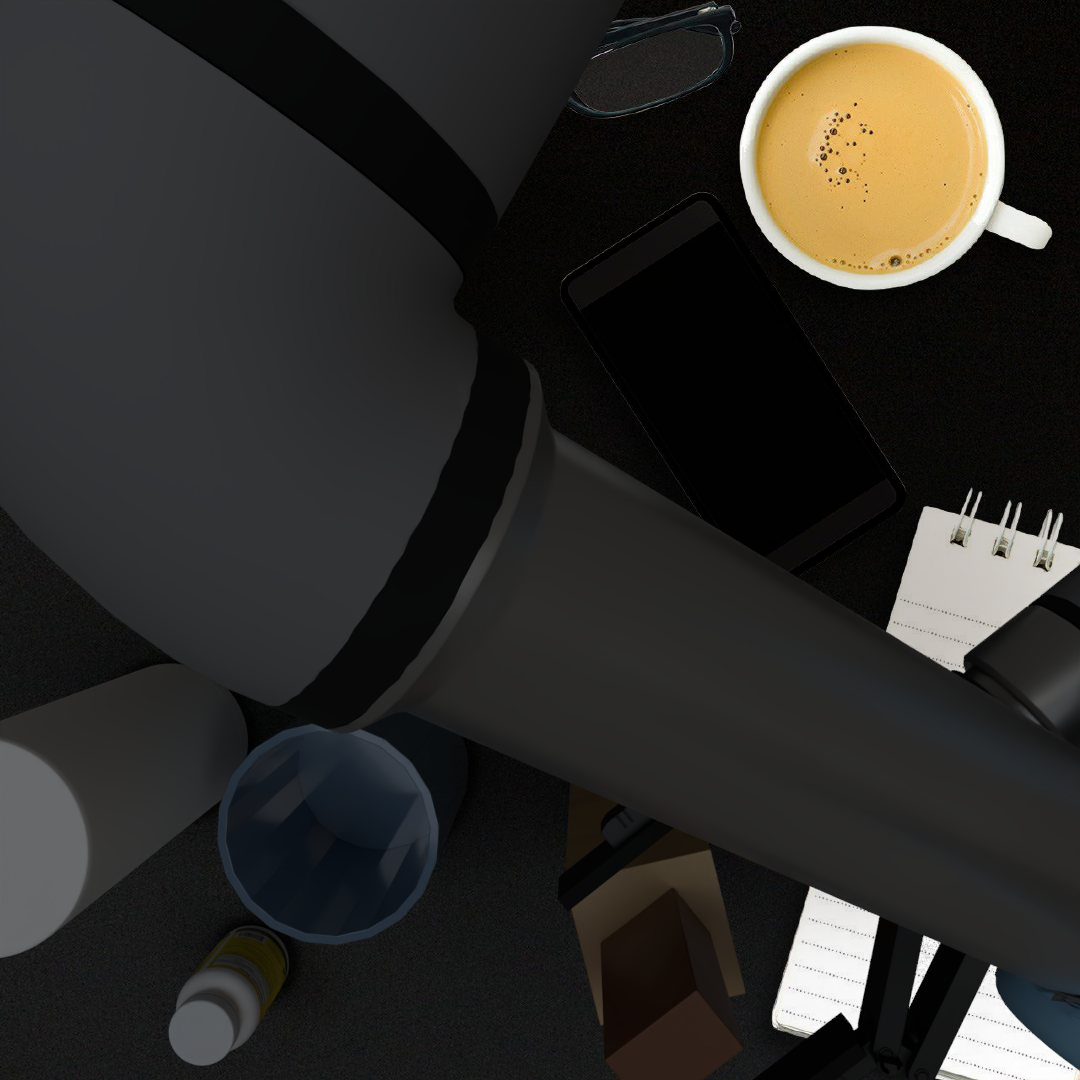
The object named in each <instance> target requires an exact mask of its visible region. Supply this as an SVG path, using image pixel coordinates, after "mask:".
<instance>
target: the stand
mask: <svg viewBox="0 0 1080 1080" xmlns="http://www.w3.org/2000/svg"><path fill="white" fill-rule="evenodd" d="M568 796H569V797H568V815H567V817H568V818H567V832H566V833H567V834H566V835H567V836H566V853H565V871H567V870H568V869H569V868H570V867H572V866H573V865H574V864H575V863H577V862H578V861H579V860H581V859H582V858H583V857H584V856H586V855H587V854H588V853H589V852H591V851H592V850H593V849H594V848H596V847H597V846H598V845H600V844H601V843H602V842H603V841H605V840H606V839H605V838H604V836H603V835H602V834H601V824H600V823H601V821H602V820H603V818H604V816H605V814H606V813H607V812H609V811H610V810H611V809H612V808H614V807H615V806H616V805H617V804H618V803H616V802H614V801H611V800H609V799H607V798H604V797H602V796H600V795H597V794H595V793H593V792H590V791H588V790H586V789H583V788H581V787H579V786H577V785H574V784H572V783H570V782H569V795H568ZM565 871H564V872H565ZM671 888H674V889H675V890H676V891H677V892H678V894H679V895H680V896H681V897H682V899H683V900H684V901H685V902H686V904H687V905H688V906H689V907H690V909H691V910H692V911H693V912H694V913H695V915H696V916H697V917H698V918H699V920H700V921H701V922H702V923H703V925H704V926H705V927H706V928H707V930H708V931H709V932H710V934H711V938H712V941H713V944H714V948H715V951H716V955H717V958H718V961H719V965H720V968H721V972H722V975H723V978H724V982H725V985H726V989H727V992H728V995H729V998H732V997H736V996H740V995H746V994H747V991H746V987H745V983H744V980H743V976H742V970H741V967H740V962H739V958H738V955H737V951H736V946H735V943H734V939H733V933H732V931H731V926H730V923H729V918H728V914H727V910H726V906H725V902H724V898H723V894H722V890H721V886H720V882H719V878H718V874H717V869H716V865H715V862H714V858H713V853H712V850H711V847H710V843H708V842H706V841H704V840H701V839H699V838H697V837H694V836H692V835H690V834H688V833H685V832H683V831H681V830H678V829H676V828H673V829H672V830H671V831H670V832H668V833H667V834H666V835H665V836H663V837H662V838H661V839H659V840H658V841H657V842H656V843H654V844H653V845H652V846H651V847H649V848H648V849H647V850H646V851H644V852H643V853H642V854H640V855H639V856H638V857H637V858H635V859H634V860H633V861H632V862H630V863H629V864H628V865H627V866H625V867H624V868H623V869H621V870H620V871H619V872H618V873H616V874H615V875H614V876H613V877H611V878H610V879H609V880H607V881H606V882H605V883H604V884H602V885H601V886H600V887H599V888H597V889H596V890H595V891H594V892H592V893H591V894H590V895H588V896H587V897H586V898H585V899H583V900H582V901H581V902H580V903H578V904H577V905H576V906H575V907H573V908H572V909H571V910H570V911H571V914H572V919H573V922H574V926H575V929H576V933H577V938H578V942H579V946H580V950H581V954H582V958H583V962H584V966H585V970H586V974H587V978H588V982H589V986H590V990H591V994H592V999H593V1002H594V1007H595V1010H596V1015H597V1018H598V1022H599V1025H600V1026H603V1002H602V974H601V946H600V944H601V942H603V941H604V940H605V939H607V938H608V937H609V936H610V935H612V934H613V933H614V932H616V931H617V930H618V929H620V928H621V927H622V926H623V925H625V924H626V923H627V922H629V921H630V920H631V919H632V918H634V917H635V916H636V915H638V914H639V913H640V912H642V911H643V910H644V909H645V908H647V907H648V906H649V905H651V904H652V903H653V902H654V901H656V900H657V899H658V898H660V897H661V896H662V895H664V894H665V893H666V892H667V891H669V890H670V889H671Z"/></svg>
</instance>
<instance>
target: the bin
mask: <svg viewBox="0 0 1080 1080" xmlns="http://www.w3.org/2000/svg"><path fill="white" fill-rule="evenodd" d="M464 739H465V738H464V737H463V736H461V735H459V734H456V733H454V732H452V731H449V730H447V729H445V728H442V727H440V726H438V725H435V724H433V723H431V722H429V721H426V720H424V719H422V718H419V717H417V716H415V715H412V714H410V713H408V712H405V711H404V712H399V713H394V714H392V715H390V716H387V717H385V718H383V719H381V720H379V721H377V722H374V723H372V724H370V725H368V726H366V727H364V728H362V729H359V730H357V731H355V732H352V733H346V734H340V733H336V732H333V731H330V730H327V729H324V728H322V727H320V726H317V725H315V724H312V723H310V722H307V721H305V720H302V719H300V718H298V717H295V718H294V719H293V720H291V721H290V722H288V723H287V724H286V725H284V726H283V727H281V728H280V729H279V730H277V731H276V732H274V734H272V735H271V736H269V737H268V738H266V739H265V740H264V741H262V742H260V743H259V744H258V745H257V746H256V747H254V748H253V749H252V750H251V751H250V752H249V754H247V757H246V759H245V760H244V761H243V762H242V763H241V765H240V766H239V767H238V768H237V769H236V771H235V772H234V773H233V774H232V776H231V778H230V781H229V783H228V786H227V789H226V791H225V794H224V796H223V799H221V800H220V801H221V802H220V804H219V808H218V821H217V838H216V842H217V847H218V850H219V855H220V858H221V862H222V866H223V870H224V873H225V876H226V879H227V880H228V881H229V883H230V885H231V886H232V888H233V889H234V892H235V893H236V895H237V896H238V897H239V900H240V901H241V902H242V904H243V905H244V907H245V908H246V909H248V910H249V911H250V912H251V913H252V914H254V915H255V917H257V918H258V919H259V920H260V921H262V922H263V923H264V924H265V925H267V926H268V927H269V928H270V929H272V930H274V931H276V932H279V933H282V934H284V935H286V936H288V937H291V938H293V939H296V940H298V941H300V942H303V943H311V944H323V945H331V946H333V945H334V946H339V945H344V944H348V943H352V942H353V943H354V942H356V941H362V940H365V939H370V938H372V937H375V936H376V935H378V934H380V933H381V932H383V931H385V930H387V929H388V928H389V927H391V926H393V925H394V924H396V923H398V922H400V921H401V920H403V919H404V917H405V916H406V915H407V914H408V912H409V911H410V910H411V909H412V908H413V906H415V904H416V903H417V902H418V901H419V899H420V898H422V896H423V895H424V894H425V891H426V889H427V887H428V884H429V882H430V880H431V878H432V875H433V873H434V870H435V867H436V865H437V863H438V861H439V858H440V855H441V853H442V851H443V849H444V846H445V843H446V841H447V839H448V836H449V834H450V831H451V829H452V826H453V824H454V823H455V820H456V817H457V814H458V812H459V810H460V807H461V805H462V802H463V800H464V797H465V795H466V794H467V793H466V792H467V789H468V780H469V770H470V769H469V756H468V750H467V746H466V743H465V740H464Z"/></svg>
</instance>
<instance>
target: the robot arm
mask: <svg viewBox="0 0 1080 1080" xmlns="http://www.w3.org/2000/svg"><path fill="white" fill-rule="evenodd" d="M625 1H626V0H0V507H1V509H3V510H4V512H5V513H6V514H7V515H8V516H9V517H10V519H11V520H12V521H13V522H14V523H15V524H16V525H17V526H18V528H19V530H21V532H22V533H23V534H24V535H25V537H27V539H28V540H29V541H31V542H32V543H33V544H34V545H35V546H36V547H37V548H38V549H39V550H40V551H41V552H43V554H44V555H46V556H47V557H48V558H49V559H50V560H51V561H52V562H53V563H55V565H57V566H58V567H59V568H60V569H61V570H62V571H63V572H65V573H66V574H67V575H68V576H69V577H70V578H71V579H72V580H73V581H74V582H75V583H77V584H78V585H79V587H81V588H82V589H83V590H84V591H85V592H86V593H87V594H89V595H90V596H91V597H92V598H93V599H94V600H95V601H96V602H97V603H99V605H100V606H102V607H103V608H104V609H105V610H106V611H107V612H108V613H109V614H111V615H112V616H113V617H114V618H116V619H117V620H119V621H120V622H121V623H122V624H124V625H125V626H126V627H128V628H130V629H131V630H133V631H134V632H135V633H137V634H138V635H140V636H141V637H142V638H144V639H145V640H146V641H148V642H149V643H151V644H152V645H154V646H155V647H156V648H157V649H158V650H160V651H162V652H163V653H165V654H166V655H168V656H169V657H170V658H172V659H173V660H174V661H176V662H178V663H179V664H182V665H185V666H187V667H189V668H191V669H192V670H194V671H196V672H198V673H200V674H201V675H203V676H205V677H207V678H209V679H211V680H212V681H214V682H216V683H218V684H220V685H221V686H223V687H225V688H227V689H228V690H229V691H232V692H235V693H237V694H239V695H242V696H244V697H246V698H248V699H251V700H254V701H256V702H259V703H260V704H263V705H266V706H267V707H268V706H269V707H270V708H273V709H276V710H278V711H280V712H283V713H285V714H287V715H290V716H293V717H295V718H297V717H298V718H300V719H302V720H305V721H307V722H310V723H312V724H315V725H317V726H320V727H322V728H324V729H327V730H330V731H333V732H336V733H340V734H346V733H352V732H355V731H357V730H359V729H362V728H364V727H366V726H368V725H370V724H372V723H374V722H377V721H379V720H381V719H383V718H385V717H387V716H390V715H392V714H394V713H399V712H404V711H405V712H408V713H410V714H412V715H415V716H417V717H419V718H422V719H424V720H426V721H429V722H431V723H433V724H435V725H438V726H440V727H442V728H445V729H447V730H449V731H452V732H454V733H456V734H459V735H461V736H463V738H465V739H467V740H470V741H473V742H474V743H477V744H480V745H482V746H484V747H487V748H489V749H491V750H493V751H496V752H498V753H500V754H503V755H505V756H507V757H509V758H512V759H515V760H517V761H519V762H521V763H523V764H526V765H527V766H531V767H533V768H535V769H538V770H540V771H542V772H545V773H546V774H549V775H551V776H553V777H556V778H558V779H559V780H562V781H565V782H568V783H569V784H570V783H572V784H574V785H577V786H579V787H581V788H583V789H586V790H588V791H590V792H593V793H595V794H597V795H600V796H602V797H604V798H607V799H609V800H611V801H614V802H616V803H618V804H617V805H616V806H615V807H614V808H612V809H611V810H610V811H609V812H607V813H606V814H605V816H604V818H603V820H602V821H601V823H600V824H601V834H602V835H603V836H604V838H605V839H606V840H605V841H603V842H602V843H601V844H600V845H598V846H597V847H596V848H594V849H593V850H592V851H591V852H589V853H588V854H587V855H586V856H584V857H583V858H582V859H581V860H579V861H578V862H577V863H575V864H574V865H573V866H572V867H570V868H569V869H568V870H567V871H564V872H563V873H561V874H560V875H559V876H558V883H557V884H558V885H557V886H558V887H557V901H558V902H559V903H560V904H561V905H562V907H563V908H564V909H565V911H567V912H570V911H572V910H571V909H572V908H573V907H575V906H576V905H577V904H578V903H580V902H581V901H582V900H583V899H585V898H586V897H587V896H588V895H590V894H591V893H592V892H594V891H595V890H596V889H597V888H599V887H600V886H601V885H602V884H604V883H605V882H606V881H607V880H609V879H610V878H611V877H613V876H614V875H615V874H616V873H618V872H619V871H620V870H621V869H623V868H624V867H625V866H627V865H628V864H629V863H630V862H632V861H633V860H634V859H635V858H637V857H638V856H639V855H640V854H642V853H643V852H644V851H646V850H647V849H648V848H649V847H651V846H652V845H653V844H654V843H656V842H657V841H658V840H659V839H661V838H662V837H663V836H665V835H666V834H667V833H668V832H670V831H671V830H672V829H673V828H676V829H678V830H681V831H683V832H685V833H688V834H690V835H692V836H694V837H697V838H699V839H701V840H704V841H706V842H708V844H711V845H714V846H716V847H718V848H720V849H722V850H725V851H727V852H730V853H731V854H734V855H736V856H738V857H741V858H743V859H745V860H748V861H750V862H752V863H755V864H757V865H759V866H762V867H764V868H766V869H769V870H771V871H774V872H775V873H778V874H780V875H783V876H785V877H788V878H790V879H792V880H794V881H796V882H799V883H801V884H803V885H806V886H808V887H810V888H813V889H815V890H818V891H819V892H822V893H824V894H826V895H829V896H831V897H833V898H836V899H838V900H840V901H842V902H845V903H847V904H850V905H852V906H855V907H856V908H859V909H862V910H864V911H866V912H868V913H871V914H873V915H875V916H878V921H877V927H876V931H875V936H874V940H873V941H874V942H873V946H872V952H871V955H870V962H869V966H868V969H867V970H868V971H867V977H866V980H865V985H864V990H863V995H862V999H861V1005H860V1011H859V1016H858V1019H857V1027H856V1028H855V1029H854V1027H853V1026H852V1024H851V1022H850V1021H849V1020H848V1018H846V1016H845V1015H844V1014H843V1012H842V1011H841V1012H839V1013H838V1014H837V1015H835V1016H833V1018H831V1019H830V1020H828V1021H827V1022H826V1023H825V1024H823V1025H822V1026H821V1027H820V1028H818V1029H817V1030H815V1031H814V1032H813V1033H811V1034H810V1035H809V1036H808V1037H806V1038H805V1039H803V1040H802V1041H801V1042H799V1044H797V1045H795V1046H794V1047H793V1048H792V1049H791V1050H790V1051H788V1052H786V1054H784V1055H783V1056H781V1057H780V1058H779V1059H777V1060H776V1061H775V1062H774V1063H772V1064H771V1065H770V1066H768V1067H767V1068H765V1069H764V1070H763V1071H762V1072H761V1073H759V1074H758V1075H757V1076H755V1077H754V1078H753V1079H752V1080H863V1079H865V1078H866V1077H868V1076H870V1074H872V1073H873V1072H874V1071H877V1070H878V1071H879V1072H880V1073H881V1074H882V1075H883V1076H885V1077H889V1078H895V1077H897V1076H899V1075H901V1076H903V1077H905V1078H906V1079H907V1080H936V1079H937V1076H938V1074H939V1072H940V1070H941V1068H942V1066H943V1064H944V1061H945V1060H946V1058H947V1055H948V1053H949V1051H950V1049H951V1047H952V1045H953V1044H954V1041H955V1038H957V1035H958V1034H959V1031H960V1029H961V1027H962V1025H963V1023H964V1020H965V1019H966V1017H967V1014H968V1012H969V1010H970V1008H971V1007H972V1004H973V1002H974V1000H975V998H976V996H977V994H978V992H979V990H980V987H981V986H982V984H983V982H984V979H985V977H986V975H987V973H988V972H989V969H990V967H991V966H993V967H995V968H996V969H995V972H994V977H995V987H996V990H997V994H998V995H999V997H1000V998H1001V1000H1002V1002H1003V1004H1004V1005H1005V1007H1006V1008H1007V1009H1008V1010H1009V1011H1010V1013H1011V1014H1012V1015H1013V1016H1014V1017H1015V1018H1016V1019H1017V1020H1018V1021H1019V1022H1020V1023H1021V1024H1022V1025H1023V1026H1024V1027H1025V1028H1026V1029H1027V1030H1028V1031H1029V1032H1030V1033H1031V1034H1032V1035H1033V1036H1035V1037H1036V1038H1037V1039H1038V1040H1039V1041H1041V1042H1042V1043H1043V1044H1044V1045H1045V1046H1046V1047H1048V1049H1050V1050H1051V1051H1052V1052H1053V1053H1055V1054H1056V1055H1058V1057H1060V1058H1061V1059H1063V1060H1064V1061H1065V1062H1067V1063H1068V1064H1069V1065H1071V1066H1072V1067H1074V1068H1075V1070H1078V1071H1079V1072H1080V563H1079V564H1078V565H1077V566H1075V568H1073V569H1072V570H1071V571H1069V572H1068V573H1067V574H1066V575H1065V576H1063V577H1062V578H1060V580H1058V581H1057V582H1056V583H1054V584H1052V586H1050V587H1049V588H1048V589H1047V590H1046V591H1044V592H1043V593H1042V594H1040V595H1039V596H1038V597H1037V598H1035V599H1034V600H1033V601H1032V602H1030V603H1029V604H1028V605H1027V606H1024V608H1023V609H1021V610H1020V611H1019V612H1017V613H1016V614H1015V615H1014V616H1013V617H1011V618H1010V619H1009V620H1007V621H1006V622H1004V624H1002V625H1001V626H1000V627H998V628H997V629H996V630H994V631H993V632H992V633H991V634H989V635H988V636H986V637H985V638H984V639H983V640H982V641H980V643H978V644H977V645H976V646H974V647H973V648H972V649H970V650H969V651H968V652H967V653H965V654H964V655H963V660H962V665H963V669H964V672H962V671H960V670H957V669H951V670H950V669H949V668H947V667H945V666H944V665H942V664H941V663H939V662H937V661H936V660H934V659H932V658H930V657H929V656H927V655H926V654H924V653H922V652H920V651H919V650H917V649H916V648H914V647H913V646H911V645H909V644H908V643H906V642H904V641H903V640H901V639H899V638H897V636H894V635H893V634H891V633H889V632H888V631H886V630H885V629H883V628H882V627H880V626H878V625H876V624H875V623H874V622H871V621H869V620H868V619H866V618H865V617H863V616H861V615H860V614H858V613H857V612H856V611H853V610H852V609H850V608H848V607H847V606H845V605H844V604H842V603H840V602H838V601H837V600H836V599H834V598H832V597H830V596H829V595H827V594H826V593H824V592H822V591H820V590H819V589H817V588H815V587H814V586H812V585H811V584H809V583H807V582H805V581H804V580H802V579H801V578H799V577H798V576H796V575H794V574H792V573H791V572H789V571H788V570H786V569H784V568H783V567H781V566H780V565H777V563H775V562H773V561H771V560H769V559H768V558H766V557H765V556H763V555H761V554H759V553H758V552H757V551H755V550H753V549H751V548H750V547H749V546H746V545H745V544H743V543H742V542H740V541H738V540H737V539H735V538H733V537H732V536H730V535H728V534H727V533H725V532H724V531H722V530H720V529H718V528H717V527H715V526H713V524H710V523H709V522H707V521H705V520H704V519H702V518H700V517H699V516H697V515H695V514H694V513H692V512H691V511H689V510H687V509H686V508H684V507H683V506H681V505H680V504H677V502H674V501H672V500H671V499H669V498H668V497H666V496H664V495H662V494H661V493H659V492H658V491H656V490H654V489H653V488H651V487H649V486H648V485H646V484H645V483H643V482H641V481H639V480H638V479H637V478H635V477H633V476H632V475H630V474H628V473H626V472H625V471H623V470H622V469H620V468H618V467H617V466H615V465H614V464H612V463H610V462H608V461H607V460H605V459H603V458H602V457H600V456H599V455H598V454H596V453H593V452H592V451H591V450H589V449H588V448H586V447H584V446H582V445H581V444H579V443H578V442H575V440H572V439H571V438H569V437H567V436H566V435H564V434H562V433H561V432H559V431H558V430H556V429H554V428H553V427H552V426H551V424H550V422H549V421H550V420H549V417H548V412H547V407H546V403H545V402H546V401H545V398H544V393H543V388H542V383H541V379H540V375H539V372H538V371H537V369H536V368H535V366H534V365H533V364H532V363H531V362H529V360H527V359H525V358H524V357H522V356H521V355H519V354H518V353H516V352H515V351H513V350H512V349H510V348H508V347H507V346H505V345H504V344H502V343H500V342H499V341H498V340H496V339H495V338H493V337H491V336H490V335H489V334H486V333H485V332H483V331H482V330H480V329H478V328H477V327H476V326H474V325H472V324H471V323H470V322H468V320H466V319H465V318H463V317H462V316H461V315H460V314H459V313H458V312H457V311H456V309H455V304H454V303H455V302H454V300H455V298H456V296H457V294H458V292H459V290H460V288H461V286H462V284H464V283H465V282H466V280H468V277H469V275H470V274H471V272H472V270H473V268H474V267H475V265H476V263H477V261H478V260H479V258H480V256H481V254H482V252H483V251H484V248H485V247H486V245H487V243H488V242H489V240H490V238H491V237H492V234H493V233H494V231H495V230H496V229H497V227H498V225H499V222H500V221H501V219H502V217H503V215H504V213H505V212H506V210H507V208H508V207H509V205H510V203H511V201H512V200H513V198H514V196H515V194H516V193H517V191H518V189H519V187H520V185H521V184H522V182H523V181H524V178H525V177H526V175H527V173H528V171H529V170H530V168H531V166H532V165H533V162H534V161H535V160H536V158H537V155H538V154H539V152H540V150H541V149H542V147H543V145H544V143H545V141H546V140H547V138H548V136H549V134H550V133H551V131H552V129H553V128H554V125H555V124H556V122H557V121H558V118H560V115H561V114H562V112H563V110H564V108H565V107H566V105H567V104H568V101H569V100H570V98H571V96H572V94H573V93H574V91H575V89H576V87H577V86H578V84H579V82H580V81H581V78H582V77H583V75H584V73H585V72H586V70H587V68H588V66H589V64H590V63H591V61H592V59H593V57H594V55H595V54H596V53H597V50H598V48H599V47H600V45H601V44H602V42H603V39H604V38H605V36H606V34H607V32H608V31H609V30H610V28H611V26H612V24H613V22H614V20H615V18H616V17H617V16H618V13H619V11H620V10H621V8H622V6H623V5H624V3H625ZM924 937H926V938H928V939H931V940H932V941H935V942H937V943H939V945H938V947H937V949H936V951H935V953H934V955H933V957H932V959H931V961H930V963H929V965H928V967H927V969H926V971H925V974H924V976H923V977H922V980H921V982H920V984H919V986H918V988H917V990H916V992H915V994H914V996H913V998H912V994H913V989H914V984H915V979H916V975H917V970H918V965H919V960H920V955H921V950H922V945H923V941H924ZM911 999H912V1001H911Z"/></svg>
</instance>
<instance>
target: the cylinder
mask: <svg viewBox="0 0 1080 1080" xmlns="http://www.w3.org/2000/svg"><path fill="white" fill-rule="evenodd" d="M248 734H249V733H248V728H247V723H246V719H245V716H244V713H243V711H242V708H241V706H240V705H239V702H238V701H237V700H236V698H235V696H234V695H233V694H232V693H231V690H229V689H227V688H225V687H223V686H221V685H220V684H218V683H216V682H214V681H212V680H211V679H209V678H207V677H205V676H203V675H201V674H200V673H198V672H196V671H194V670H192V669H191V668H189V667H187V666H185V665H183V664H181V663H160V664H155V665H154V664H153V665H151V666H147V667H144V668H141V669H138V670H136V671H133V672H130V673H127V674H125V675H122V676H119V677H117V678H114V679H111V680H108V681H106V682H103V683H100V684H98V685H97V684H96V685H95V686H92V687H89V688H87V689H84V690H81V691H78V692H75V693H72V694H70V695H67V696H64V697H61V698H60V699H55V700H54V701H50V702H47V703H45V704H43V705H40V706H37V707H34V708H31V709H29V710H26V711H23V712H21V713H18V714H15V715H12V716H10V717H7V718H4V719H1V720H0V959H3V958H8V957H12V956H15V955H18V954H22V953H24V952H26V951H29V950H30V949H32V948H35V947H37V946H38V945H40V944H41V943H42V942H44V941H46V940H48V939H49V938H50V937H51V936H53V935H54V934H55V933H57V932H58V931H59V930H61V929H62V928H63V927H64V926H65V925H67V924H68V923H69V922H71V920H73V919H74V918H76V917H77V916H78V915H79V914H81V913H82V912H83V911H84V910H86V909H87V908H88V907H89V906H91V905H92V904H93V903H94V902H95V901H97V900H98V899H100V897H102V896H103V895H105V893H107V892H108V891H110V890H111V889H112V888H113V887H114V886H115V885H117V884H118V883H119V882H121V881H122V880H123V879H124V878H125V877H127V876H128V875H130V873H132V872H133V871H135V869H137V868H138V867H139V866H140V865H142V864H143V863H144V862H145V861H147V860H148V859H150V857H152V856H153V855H154V854H155V853H157V852H158V851H159V850H160V849H161V848H163V847H164V846H166V845H167V844H168V843H169V842H171V841H172V840H173V839H174V838H175V837H177V836H178V835H179V834H180V833H182V832H183V831H184V830H185V829H187V828H188V827H189V826H190V825H192V824H193V823H195V821H196V820H198V819H199V818H201V817H202V816H203V815H204V814H205V813H207V812H208V811H209V810H210V809H212V808H213V807H214V806H215V805H217V804H218V803H219V802H220V801H222V799H223V796H224V794H225V791H226V789H227V786H228V783H229V781H230V778H231V776H232V774H233V773H234V772H235V771H236V769H237V768H238V767H239V766H240V765H241V763H242V762H243V761H244V760H245V759H246V757H247V756H248V751H249V750H248V749H249V735H248Z"/></svg>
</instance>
